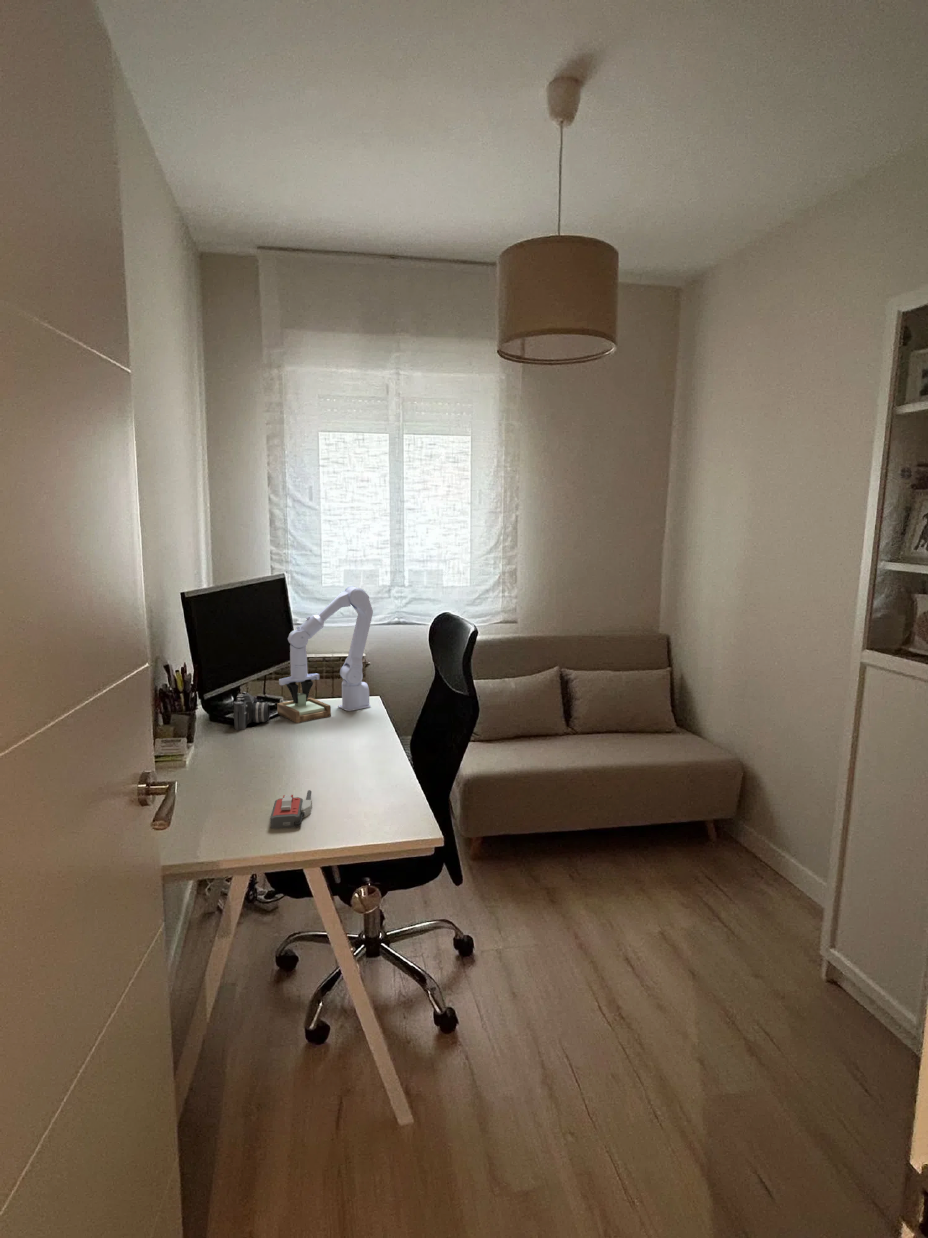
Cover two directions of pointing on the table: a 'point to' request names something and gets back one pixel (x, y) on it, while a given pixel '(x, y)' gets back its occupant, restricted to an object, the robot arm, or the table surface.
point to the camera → (249, 711)
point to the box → (297, 718)
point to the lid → (305, 705)
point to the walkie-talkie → (290, 811)
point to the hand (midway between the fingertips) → (300, 702)
